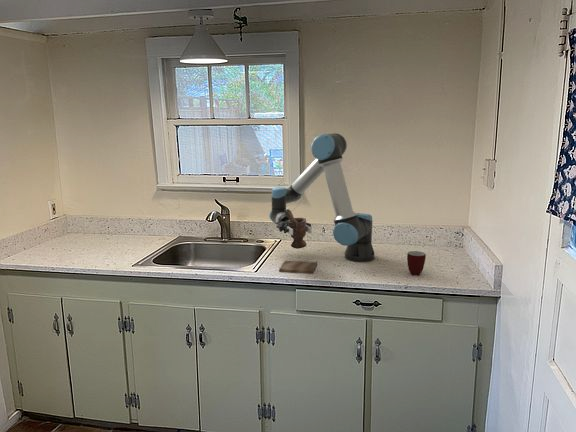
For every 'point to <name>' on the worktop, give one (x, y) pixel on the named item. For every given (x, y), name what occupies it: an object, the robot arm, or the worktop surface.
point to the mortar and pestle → (297, 230)
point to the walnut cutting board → (298, 266)
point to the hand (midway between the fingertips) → (301, 231)
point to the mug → (416, 262)
